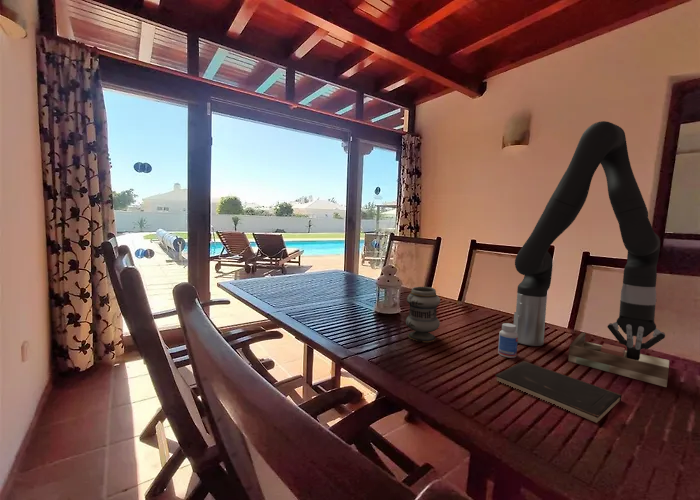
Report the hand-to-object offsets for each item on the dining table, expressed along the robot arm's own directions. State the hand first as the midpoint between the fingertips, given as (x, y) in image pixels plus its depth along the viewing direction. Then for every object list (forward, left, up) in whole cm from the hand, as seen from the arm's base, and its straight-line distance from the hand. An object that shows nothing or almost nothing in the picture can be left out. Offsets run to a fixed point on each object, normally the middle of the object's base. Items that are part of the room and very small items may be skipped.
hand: (632, 360), depth 95 cm
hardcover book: (-25, -18, -4) cm, 31 cm away
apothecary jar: (-59, +12, -4) cm, 60 cm away
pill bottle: (-32, +4, -4) cm, 33 cm away
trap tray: (-1, +6, -4) cm, 7 cm away
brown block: (-4, +2, -2) cm, 5 cm away
